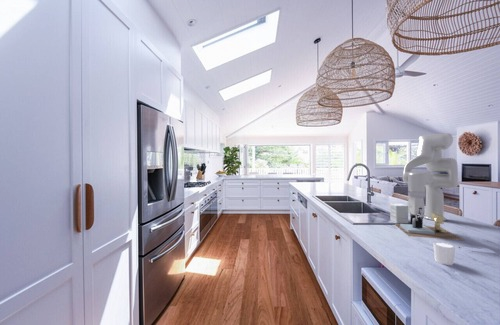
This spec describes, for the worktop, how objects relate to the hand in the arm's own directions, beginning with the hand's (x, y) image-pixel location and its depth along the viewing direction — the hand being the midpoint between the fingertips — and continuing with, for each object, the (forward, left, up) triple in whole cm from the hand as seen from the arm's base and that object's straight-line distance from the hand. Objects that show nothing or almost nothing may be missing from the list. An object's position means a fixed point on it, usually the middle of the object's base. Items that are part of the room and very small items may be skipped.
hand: (416, 225), depth 124 cm
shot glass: (+38, -5, -4) cm, 39 cm away
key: (+2, +10, -2) cm, 10 cm away
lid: (0, 0, -3) cm, 3 cm away
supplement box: (-17, -3, -4) cm, 18 cm away
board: (+1, +4, -4) cm, 6 cm away
